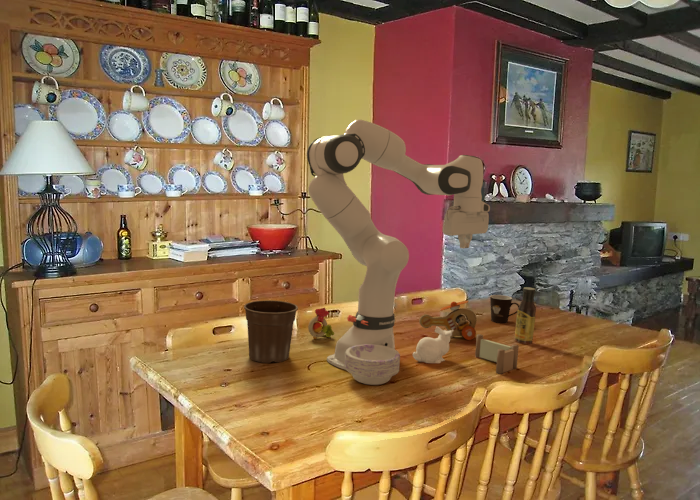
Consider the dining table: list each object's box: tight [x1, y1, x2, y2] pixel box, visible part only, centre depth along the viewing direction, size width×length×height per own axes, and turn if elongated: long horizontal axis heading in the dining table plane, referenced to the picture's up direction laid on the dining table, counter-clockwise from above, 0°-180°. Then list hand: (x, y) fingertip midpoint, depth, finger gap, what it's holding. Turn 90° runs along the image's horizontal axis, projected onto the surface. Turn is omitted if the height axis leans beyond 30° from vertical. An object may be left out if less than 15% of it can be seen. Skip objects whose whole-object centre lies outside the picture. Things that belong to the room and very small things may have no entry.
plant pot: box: [243, 299, 299, 364], centre depth 173 cm, size 16×16×16 cm
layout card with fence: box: [475, 344, 519, 375], centre depth 177 cm, size 23×18×7 cm
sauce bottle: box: [514, 286, 537, 345], centre depth 199 cm, size 6×6×20 cm
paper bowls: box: [344, 344, 401, 386], centre depth 158 cm, size 15×15×8 cm
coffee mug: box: [489, 294, 520, 324], centre depth 228 cm, size 12×9×10 cm
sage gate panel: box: [474, 333, 512, 363], centre depth 177 cm, size 12×2×7 cm, turn 44°
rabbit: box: [412, 326, 454, 364], centre depth 174 cm, size 12×9×12 cm
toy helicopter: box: [418, 300, 477, 341], centre depth 203 cm, size 8×21×14 cm, turn 97°
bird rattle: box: [307, 307, 335, 340], centre depth 196 cm, size 6×11×9 cm
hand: (464, 248), depth 186 cm, fingers closed
